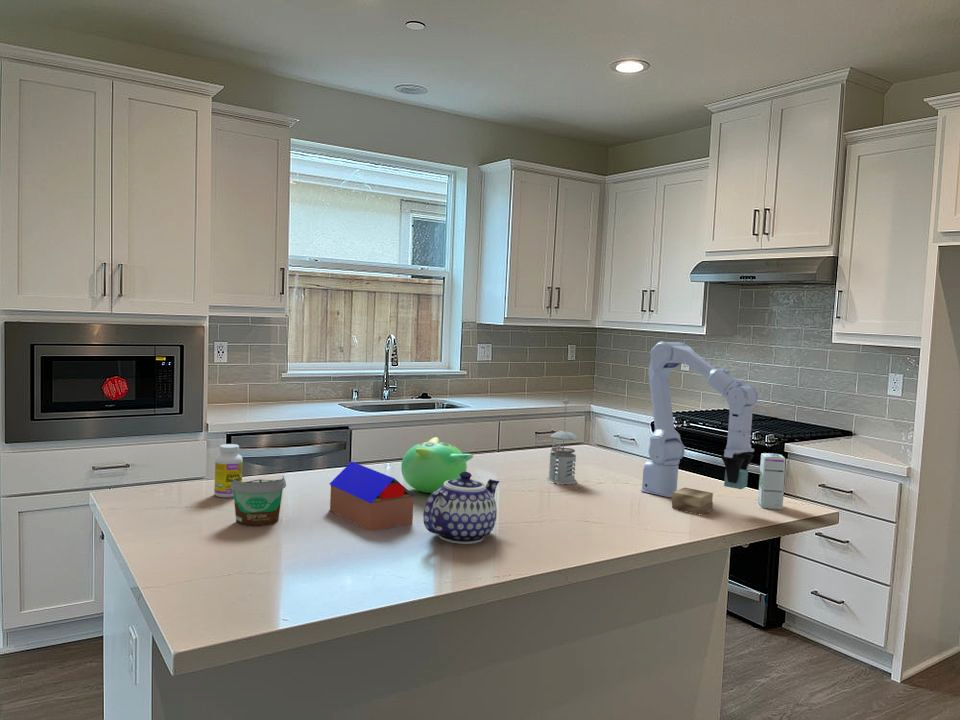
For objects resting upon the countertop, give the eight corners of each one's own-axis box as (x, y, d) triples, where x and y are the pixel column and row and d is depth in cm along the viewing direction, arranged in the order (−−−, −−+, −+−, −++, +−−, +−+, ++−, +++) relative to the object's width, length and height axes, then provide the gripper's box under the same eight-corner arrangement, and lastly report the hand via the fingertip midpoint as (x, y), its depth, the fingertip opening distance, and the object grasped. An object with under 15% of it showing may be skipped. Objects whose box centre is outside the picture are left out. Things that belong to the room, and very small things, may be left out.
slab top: (671, 501, 195) (672, 492, 194) (684, 496, 201) (684, 487, 201) (700, 507, 190) (701, 497, 189) (712, 502, 196) (712, 492, 196)
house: (370, 504, 185) (372, 459, 184) (414, 524, 170) (416, 475, 169) (328, 510, 178) (329, 463, 177) (369, 532, 162) (371, 481, 161)
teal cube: (724, 486, 193) (725, 469, 193) (730, 483, 197) (731, 467, 197) (740, 489, 191) (742, 472, 190) (746, 486, 194) (748, 470, 194)
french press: (583, 481, 222) (587, 399, 220) (566, 487, 212) (571, 403, 210) (554, 475, 227) (558, 396, 225) (536, 482, 217) (541, 399, 216)
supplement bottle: (224, 499, 182) (225, 449, 181) (208, 494, 186) (210, 445, 185) (247, 495, 187) (248, 446, 186) (231, 490, 191) (233, 442, 190)
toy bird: (456, 483, 210) (458, 433, 209) (474, 499, 194) (476, 444, 193) (395, 485, 205) (397, 434, 204) (408, 501, 189) (410, 445, 188)
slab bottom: (671, 510, 195) (672, 501, 195) (683, 505, 201) (684, 496, 201) (700, 517, 190) (701, 507, 190) (712, 511, 196) (712, 502, 196)
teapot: (447, 559, 147) (450, 487, 146) (397, 541, 157) (400, 473, 156) (522, 533, 166) (526, 469, 165) (474, 518, 176) (476, 458, 175)
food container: (233, 530, 158) (234, 485, 157) (229, 522, 164) (230, 478, 163) (290, 525, 164) (291, 481, 163) (284, 517, 169) (285, 475, 169)
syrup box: (783, 510, 199) (787, 457, 198) (760, 508, 200) (764, 456, 199) (778, 504, 204) (782, 454, 203) (756, 502, 205) (760, 452, 204)
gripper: (745, 435, 185) (741, 488, 186) (763, 430, 196) (760, 479, 197) (717, 431, 189) (714, 482, 190) (737, 426, 200) (734, 474, 201)
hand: (735, 480), depth 194 cm, fingers closed on teal cube, 4 cm apart
